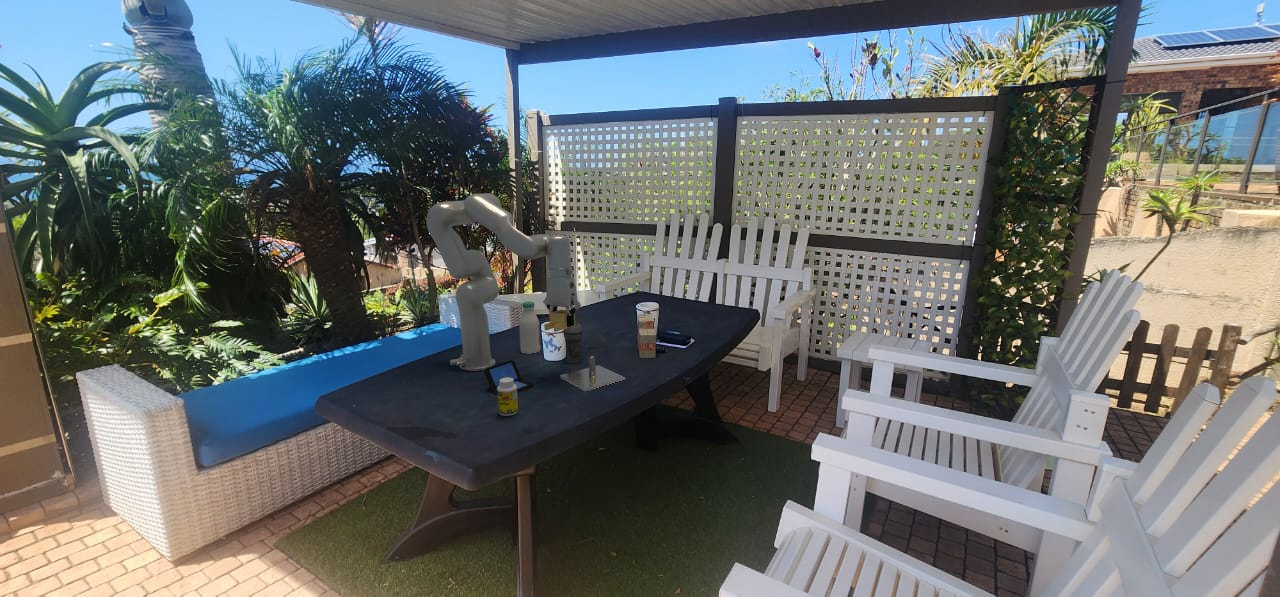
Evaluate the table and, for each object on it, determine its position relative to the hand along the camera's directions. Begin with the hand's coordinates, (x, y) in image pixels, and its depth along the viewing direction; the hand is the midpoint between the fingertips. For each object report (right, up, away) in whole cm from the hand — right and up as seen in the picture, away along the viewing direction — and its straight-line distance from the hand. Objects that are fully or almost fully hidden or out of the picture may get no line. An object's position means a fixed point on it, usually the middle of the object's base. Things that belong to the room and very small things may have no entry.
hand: (562, 324), depth 180 cm
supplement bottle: (-12, -25, -25) cm, 37 cm away
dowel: (+11, -20, -4) cm, 23 cm away
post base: (+10, -19, +1) cm, 21 cm away
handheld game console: (-16, -21, -6) cm, 27 cm away
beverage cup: (+1, -15, +19) cm, 24 cm away
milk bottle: (-17, -12, +31) cm, 37 cm away
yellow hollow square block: (-1, -1, -1) cm, 2 cm away
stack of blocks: (+29, -12, +33) cm, 45 cm away
